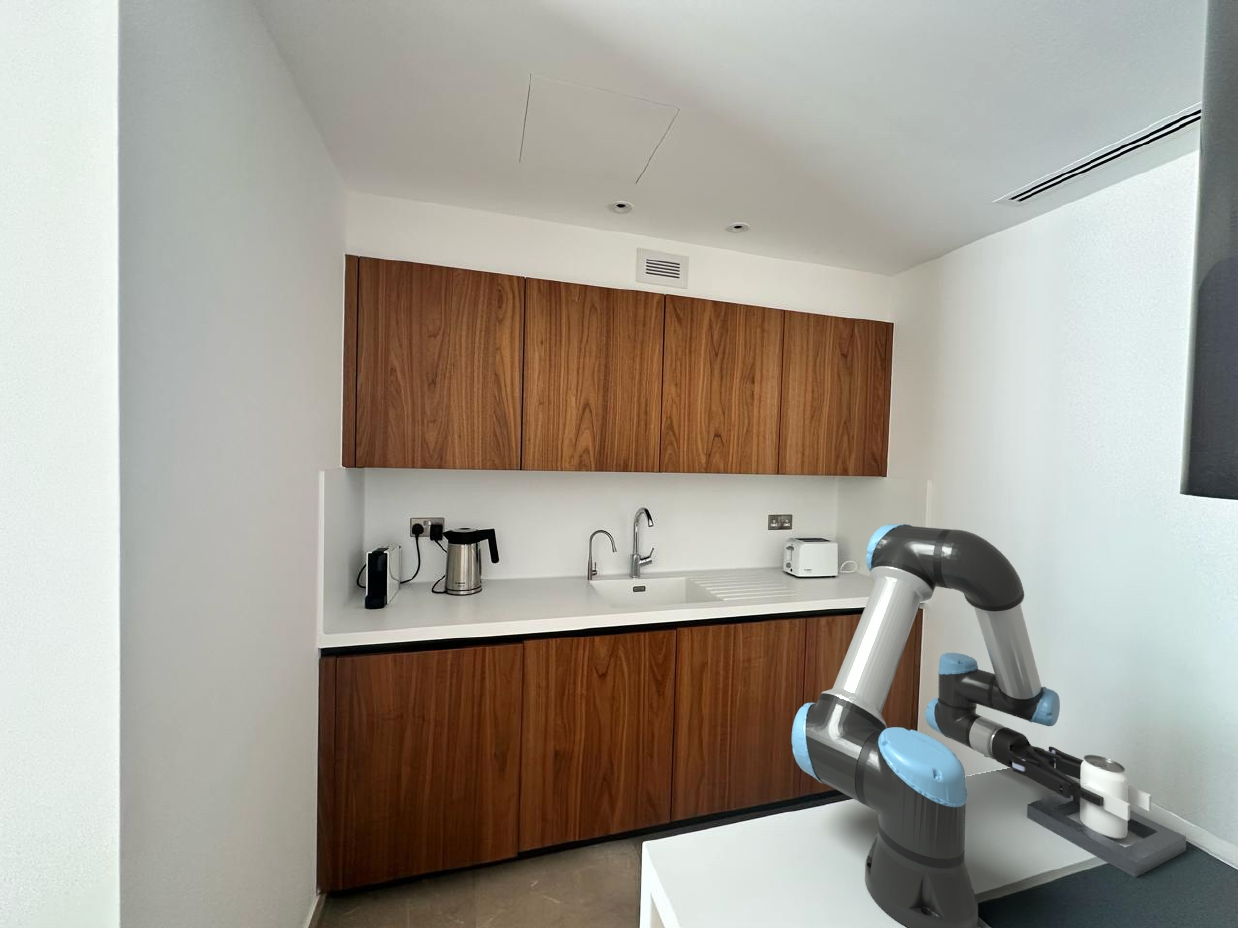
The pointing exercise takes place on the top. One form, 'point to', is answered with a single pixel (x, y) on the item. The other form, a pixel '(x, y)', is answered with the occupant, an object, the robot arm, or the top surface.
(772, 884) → the top surface
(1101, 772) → the can
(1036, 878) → the top surface
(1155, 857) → the jig
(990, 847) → the top surface
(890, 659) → the robot arm
